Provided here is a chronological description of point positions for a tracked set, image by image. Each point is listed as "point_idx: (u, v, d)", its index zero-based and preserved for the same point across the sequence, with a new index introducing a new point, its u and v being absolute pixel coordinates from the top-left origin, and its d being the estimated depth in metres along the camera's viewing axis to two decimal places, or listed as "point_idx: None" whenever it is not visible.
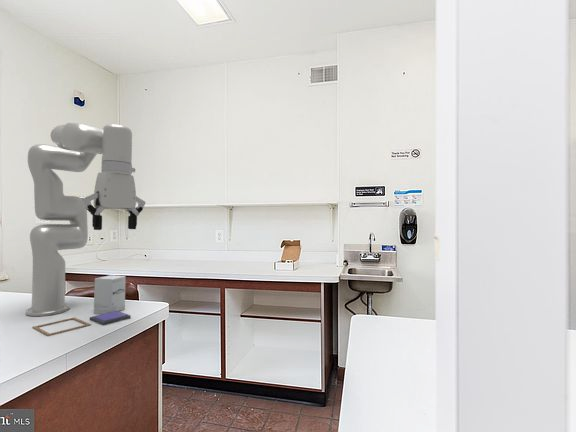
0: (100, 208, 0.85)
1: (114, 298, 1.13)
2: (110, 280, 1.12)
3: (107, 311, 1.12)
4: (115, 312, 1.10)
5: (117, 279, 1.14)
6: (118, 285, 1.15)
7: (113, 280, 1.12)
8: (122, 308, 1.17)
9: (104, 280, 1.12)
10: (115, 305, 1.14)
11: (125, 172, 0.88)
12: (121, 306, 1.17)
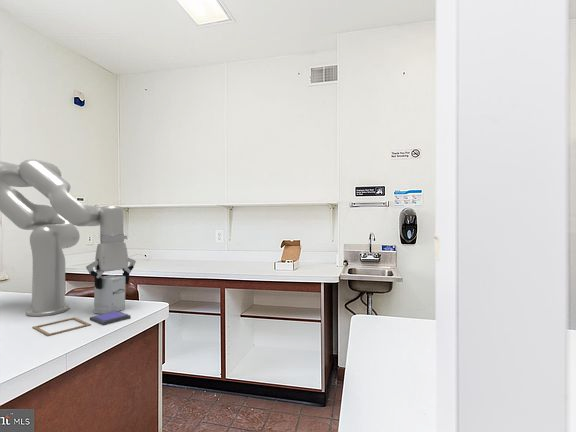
0: (100, 272, 1.11)
1: (114, 298, 1.13)
2: (110, 280, 1.12)
3: (107, 311, 1.12)
4: (115, 312, 1.10)
5: (117, 279, 1.14)
6: (118, 285, 1.15)
7: (113, 280, 1.12)
8: (122, 308, 1.17)
9: (104, 280, 1.12)
10: (115, 305, 1.14)
11: (118, 242, 1.14)
12: (121, 306, 1.17)
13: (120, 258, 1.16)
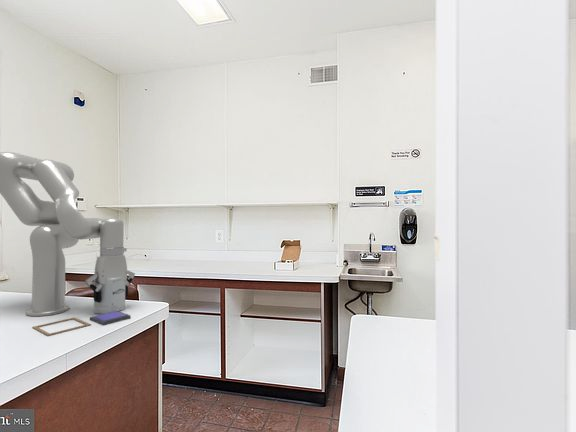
0: (99, 286, 1.11)
1: (114, 298, 1.13)
2: (110, 280, 1.12)
3: (107, 311, 1.12)
4: (115, 312, 1.10)
5: (117, 279, 1.14)
6: (118, 285, 1.15)
7: (113, 280, 1.12)
8: (122, 308, 1.17)
9: None
10: (115, 305, 1.14)
11: (118, 255, 1.14)
12: (121, 306, 1.17)
13: (119, 271, 1.16)
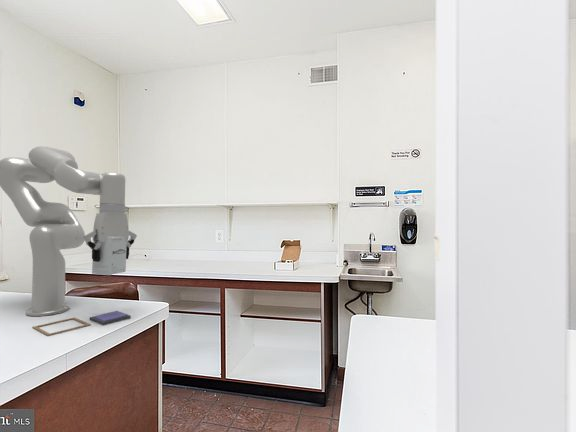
0: (98, 243, 1.02)
1: (114, 258, 1.04)
2: (110, 238, 1.03)
3: (106, 271, 1.03)
4: (115, 312, 1.10)
5: (118, 238, 1.06)
6: (118, 245, 1.06)
7: (113, 238, 1.04)
8: (123, 270, 1.08)
9: None
10: (116, 266, 1.05)
11: (119, 212, 1.05)
12: (122, 268, 1.08)
13: (120, 230, 1.07)
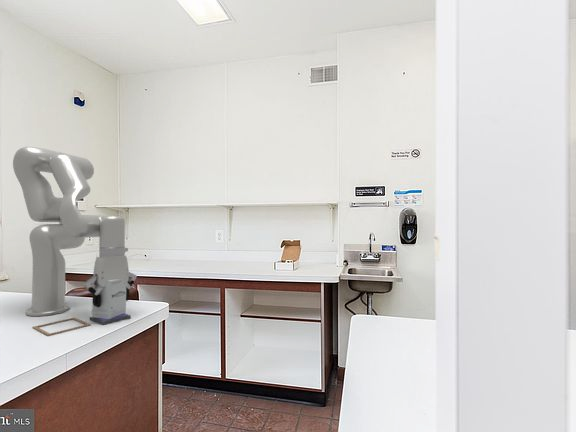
0: (99, 289, 1.02)
1: (113, 302, 1.04)
2: (109, 282, 1.03)
3: (106, 315, 1.03)
4: None
5: (117, 281, 1.05)
6: (118, 288, 1.06)
7: (112, 282, 1.03)
8: (123, 312, 1.08)
9: None
10: (115, 309, 1.05)
11: (119, 255, 1.05)
12: (122, 310, 1.08)
13: (120, 273, 1.07)
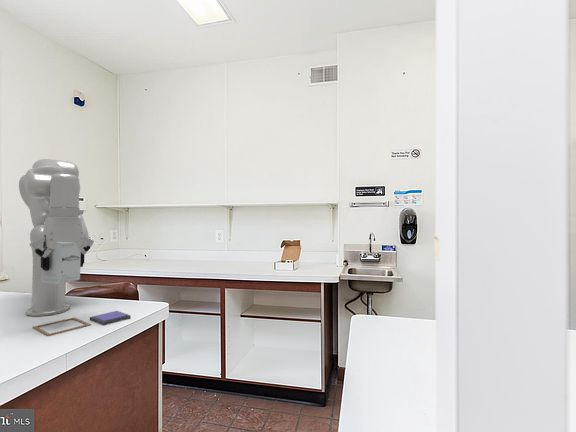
0: (47, 251, 0.94)
1: (64, 266, 0.96)
2: (59, 244, 0.95)
3: (55, 280, 0.95)
4: (115, 312, 1.10)
5: (68, 243, 0.98)
6: (70, 251, 0.98)
7: (62, 244, 0.96)
8: (76, 278, 1.00)
9: None
10: (66, 274, 0.97)
11: (71, 216, 0.97)
12: (75, 276, 1.00)
13: (73, 235, 0.99)
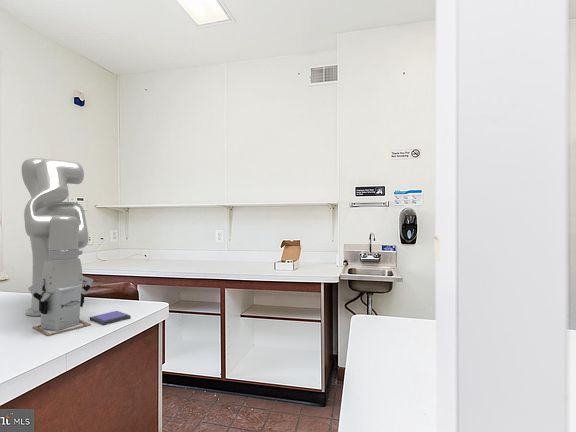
0: (46, 294, 0.94)
1: (63, 312, 0.96)
2: (59, 291, 0.95)
3: (54, 327, 0.95)
4: (115, 312, 1.10)
5: (69, 289, 0.97)
6: (69, 297, 0.98)
7: (62, 291, 0.95)
8: (75, 323, 1.00)
9: None
10: (65, 320, 0.97)
11: (70, 259, 0.97)
12: (74, 321, 1.00)
13: (72, 277, 0.99)
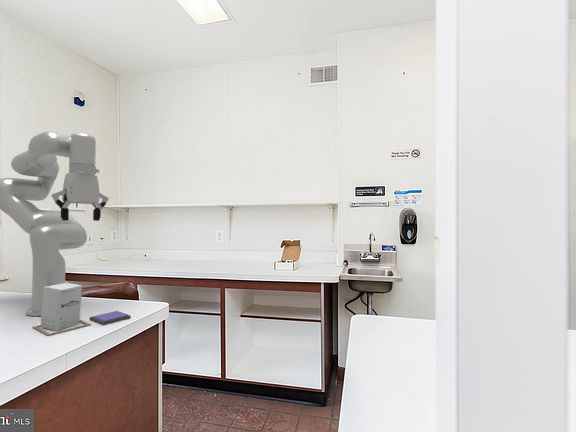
0: (67, 202, 1.03)
1: (63, 312, 0.96)
2: (59, 291, 0.95)
3: (54, 326, 0.95)
4: (115, 312, 1.10)
5: (69, 289, 0.97)
6: (70, 297, 0.98)
7: (63, 291, 0.95)
8: (75, 323, 1.00)
9: (53, 290, 0.96)
10: (65, 320, 0.97)
11: (89, 173, 1.06)
12: (74, 321, 1.00)
13: (90, 191, 1.08)
